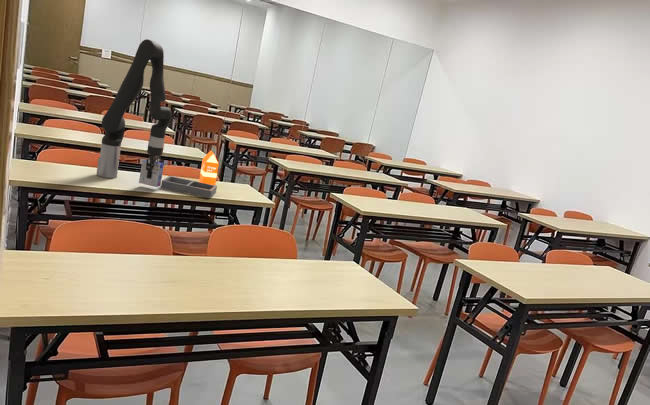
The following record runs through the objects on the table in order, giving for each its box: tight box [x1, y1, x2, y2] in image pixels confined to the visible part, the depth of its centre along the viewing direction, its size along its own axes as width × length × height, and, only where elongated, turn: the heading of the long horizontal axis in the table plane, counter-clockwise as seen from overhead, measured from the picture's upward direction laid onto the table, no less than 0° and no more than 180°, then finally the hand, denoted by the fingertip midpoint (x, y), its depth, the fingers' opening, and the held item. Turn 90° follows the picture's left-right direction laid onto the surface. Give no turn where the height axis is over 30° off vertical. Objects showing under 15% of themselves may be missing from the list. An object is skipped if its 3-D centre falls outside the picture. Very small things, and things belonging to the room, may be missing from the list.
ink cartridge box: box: [138, 159, 165, 188], centre depth 251 cm, size 10×6×14 cm, turn 88°
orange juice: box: [198, 150, 219, 185], centre depth 283 cm, size 8×9×20 cm
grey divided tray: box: [160, 175, 218, 199], centre depth 265 cm, size 27×14×4 cm, turn 91°
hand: (151, 177), depth 252 cm, fingers closed on ink cartridge box, 5 cm apart
